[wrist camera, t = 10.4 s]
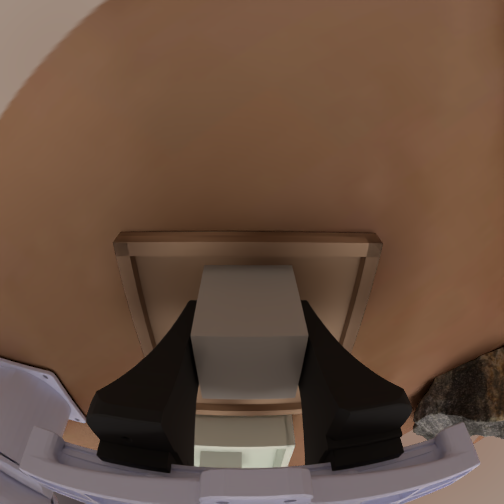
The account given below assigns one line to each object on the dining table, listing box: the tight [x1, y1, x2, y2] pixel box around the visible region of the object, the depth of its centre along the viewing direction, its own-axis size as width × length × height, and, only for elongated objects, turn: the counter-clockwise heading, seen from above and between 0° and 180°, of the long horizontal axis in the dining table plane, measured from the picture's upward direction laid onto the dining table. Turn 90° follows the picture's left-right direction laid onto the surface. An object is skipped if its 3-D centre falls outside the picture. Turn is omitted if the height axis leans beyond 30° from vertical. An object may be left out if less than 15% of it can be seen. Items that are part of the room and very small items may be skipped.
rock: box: [413, 347, 504, 440], centre depth 19 cm, size 14×11×10 cm
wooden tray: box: [113, 231, 383, 416], centre depth 16 cm, size 12×14×1 cm
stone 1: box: [199, 451, 242, 468], centre depth 23 cm, size 4×4×4 cm
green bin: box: [194, 414, 295, 468], centre depth 23 cm, size 12×14×3 cm
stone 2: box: [191, 265, 309, 399], centre depth 13 cm, size 4×4×4 cm
